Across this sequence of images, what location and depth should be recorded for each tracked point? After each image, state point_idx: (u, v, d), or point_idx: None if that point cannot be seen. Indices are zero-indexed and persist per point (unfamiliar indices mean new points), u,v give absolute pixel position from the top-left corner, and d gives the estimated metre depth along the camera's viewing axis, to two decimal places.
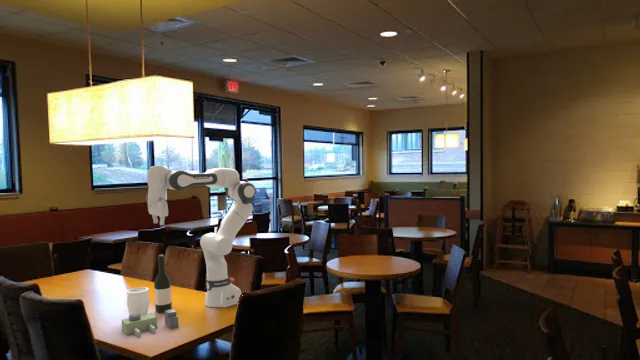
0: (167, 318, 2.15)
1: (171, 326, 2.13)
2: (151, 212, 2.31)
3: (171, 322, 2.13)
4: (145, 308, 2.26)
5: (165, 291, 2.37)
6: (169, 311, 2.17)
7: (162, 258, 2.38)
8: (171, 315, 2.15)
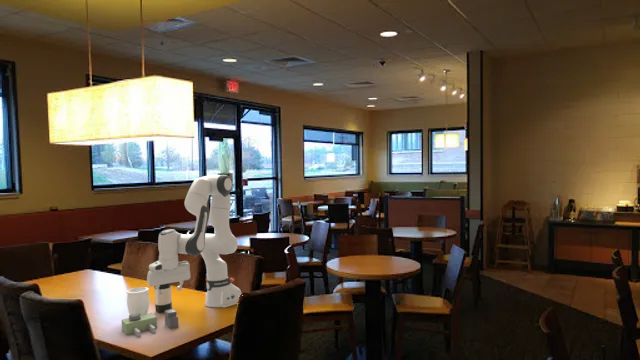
0: (167, 318, 2.15)
1: (171, 326, 2.13)
2: (159, 282, 2.11)
3: (171, 322, 2.13)
4: (145, 308, 2.26)
5: (165, 291, 2.37)
6: (169, 311, 2.17)
7: None
8: (171, 315, 2.15)
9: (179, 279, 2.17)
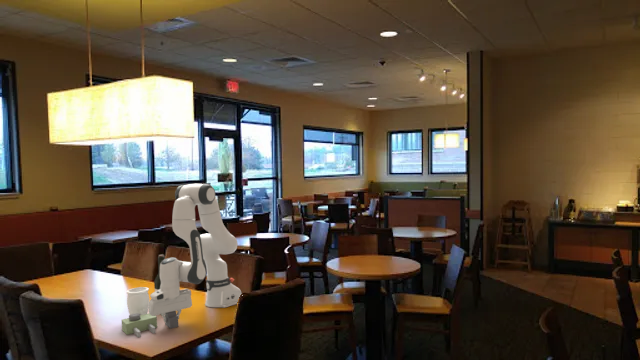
0: None
1: (171, 326, 2.13)
2: (161, 311, 2.12)
3: (171, 322, 2.13)
4: (145, 308, 2.26)
5: None
6: None
7: (162, 258, 2.38)
8: (171, 315, 2.15)
9: (181, 307, 2.17)
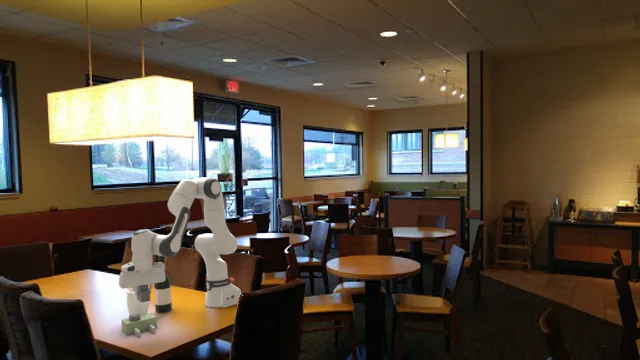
0: None
1: (142, 300, 2.03)
2: (132, 284, 2.02)
3: (142, 295, 2.04)
4: (145, 308, 2.26)
5: (165, 291, 2.37)
6: None
7: (162, 258, 2.38)
8: (143, 288, 2.06)
9: (153, 281, 2.08)
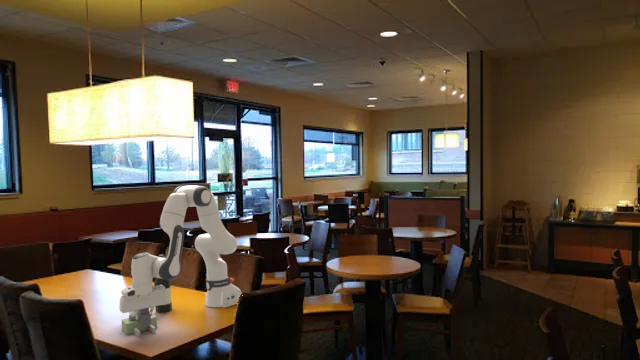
0: None
1: (143, 323, 2.04)
2: (132, 308, 2.03)
3: (143, 319, 2.04)
4: None
5: (165, 291, 2.37)
6: None
7: None
8: (143, 312, 2.06)
9: (153, 304, 2.09)
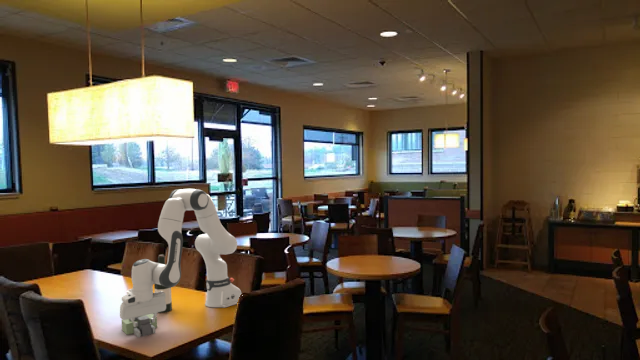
0: (140, 325, 2.06)
1: (144, 334, 2.04)
2: (133, 315, 2.03)
3: (144, 329, 2.04)
4: None
5: (165, 291, 2.37)
6: (142, 317, 2.08)
7: (162, 258, 2.38)
8: (144, 322, 2.06)
9: (154, 311, 2.09)
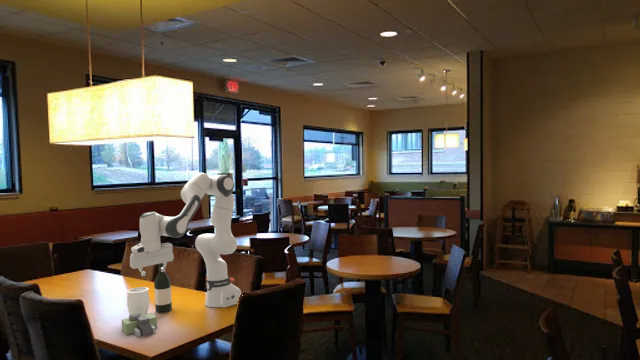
0: (140, 325, 2.06)
1: (144, 334, 2.04)
2: (142, 264, 2.12)
3: (144, 329, 2.04)
4: (145, 308, 2.26)
5: (165, 291, 2.37)
6: (142, 317, 2.08)
7: None
8: (144, 322, 2.06)
9: (162, 261, 2.18)
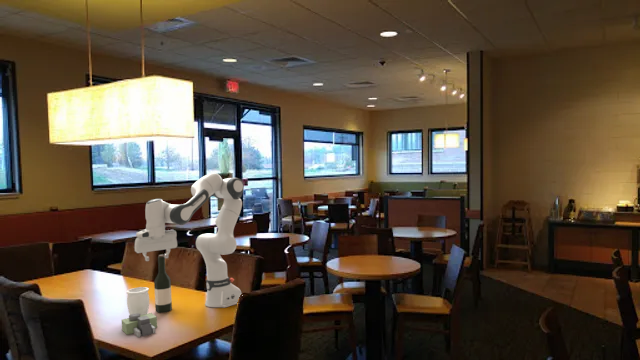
0: (140, 325, 2.06)
1: (144, 334, 2.04)
2: (147, 249, 2.18)
3: (144, 329, 2.04)
4: (145, 308, 2.26)
5: (165, 291, 2.37)
6: (142, 317, 2.08)
7: (162, 258, 2.38)
8: (144, 322, 2.06)
9: (166, 247, 2.24)
